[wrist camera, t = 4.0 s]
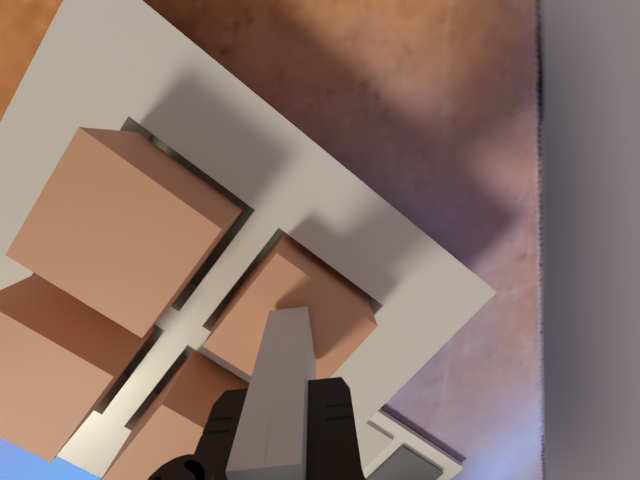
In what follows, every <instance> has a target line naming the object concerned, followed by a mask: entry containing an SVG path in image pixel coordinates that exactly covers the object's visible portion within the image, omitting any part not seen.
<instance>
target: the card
mask: <svg viewBox="0 0 640 480" xmlns="http://www.w3.org/2000/svg"><path fill="white" fill-rule="evenodd" d="M356 433H357V439H358V446H359V453H360V460H361V466H362V471H363V474H364V477H365V479H366V480H451V479H452V478H453V477H454V476H455V475H456V474H458V473H459V472H460V471H461V470H462V469H463V468H464V467H463V465H462V463H461V462H460V461H458V460H457V459H455V458H454V457H452V456H451V455H449V454H448V453H446V452H445V451H443V450H442V449H440V448H439V447H437V446H436V445H434V444H433V443H431V442H430V441H428V440H427V439H425V438H424V437H422V436H421V435H419V434H418V433H416V432H415V431H413V430H412V429H410V428H409V427H407V426H406V425H404V424H403V423H401V422H400V421H398V420H397V419H395V418H393V417H392V416H390V415H389V414H387V413H386V412H384V411H383V410H381V409H379V410H378V411H377V412H376V413H375V414H374V415H373V416H372V417H371V418H370V419H369V420H368V421H367V422H366V423H365V424H364V425H363V426H362V427H361V428H360V429H359V430H358V431H357V432H356Z"/></svg>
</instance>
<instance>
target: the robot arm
mask: <svg viewBox="0 0 640 480" xmlns="http://www.w3.org/2000/svg"><path fill="white" fill-rule="evenodd" d="M148 480H366V479H365V477H364V474H363V471H362V466H361V460H360V453H359V446H358V439H357V433H356V426H355V419H354V412H353V406H352V399H351V392H350V388H349V386H348V385H347V384H346V382H345V381H344V380H343V378H342V377H334V378H325V379H316V361H315V354H314V347H313V340H312V333H311V326H310V318H309V311H308V306H307V307H298V308H289V309H280V310H271V311H269V314H268V318H267V322H266V325H265V329H264V333H263V336H262V340H261V344H260V347H259V351H258V355H257V358H256V362H255V365H254V369H253V373H252V376H251V380H250V384H249V387H248V388H244V389H235V390H226V391H224V393H223V394H222V395H221V396H220V397H219V398H218V400H217V401H216V402H215V403H214V404H213V406H212V409H211V412H210V414H209V417H208V419H207V423H206V424H205V427H204V429H203V432H202V436H201V437H200V440H199V442H198V445H197V447H196V450H195V452H194V454H187V455H183V456H179V457H176V458H174V459H172V460H170V461H169V462H167V463H165V464H163V465H162V466H161V467H159V468H158V469H157V470H156V471H155V472H154V473H153V474H152V475H151V476H150V477H149V478H148Z"/></svg>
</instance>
